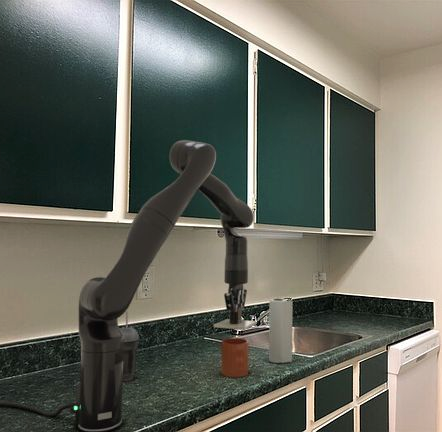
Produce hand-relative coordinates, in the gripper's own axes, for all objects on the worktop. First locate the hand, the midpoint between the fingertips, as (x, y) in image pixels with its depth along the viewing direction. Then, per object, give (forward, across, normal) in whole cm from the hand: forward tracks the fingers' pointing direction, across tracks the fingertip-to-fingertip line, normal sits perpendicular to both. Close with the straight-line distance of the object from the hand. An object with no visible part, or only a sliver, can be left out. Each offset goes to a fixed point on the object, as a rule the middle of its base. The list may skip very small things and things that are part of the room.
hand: (235, 322), depth 144 cm
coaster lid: (+1, 0, 0) cm, 1 cm away
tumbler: (+16, 0, 0) cm, 16 cm away
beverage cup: (+16, +18, -28) cm, 37 cm away
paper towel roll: (+16, -18, +9) cm, 26 cm away
